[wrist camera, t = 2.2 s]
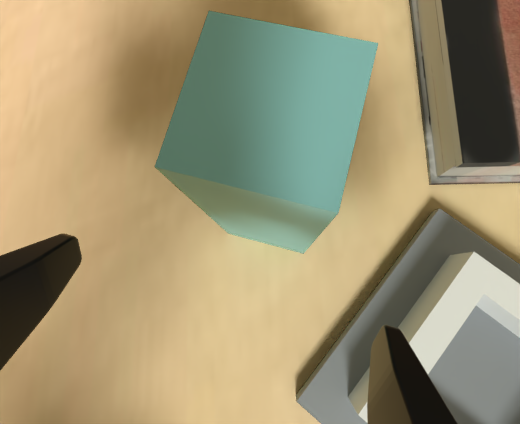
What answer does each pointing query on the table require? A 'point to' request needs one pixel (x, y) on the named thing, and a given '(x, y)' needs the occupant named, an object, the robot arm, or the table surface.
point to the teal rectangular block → (267, 127)
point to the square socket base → (434, 329)
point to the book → (469, 88)
